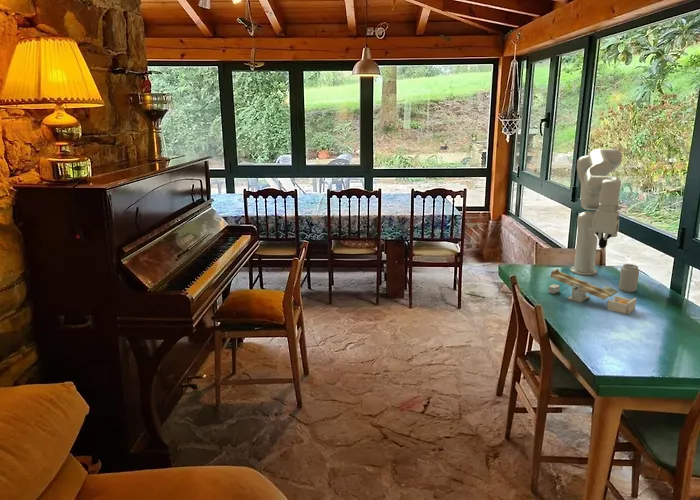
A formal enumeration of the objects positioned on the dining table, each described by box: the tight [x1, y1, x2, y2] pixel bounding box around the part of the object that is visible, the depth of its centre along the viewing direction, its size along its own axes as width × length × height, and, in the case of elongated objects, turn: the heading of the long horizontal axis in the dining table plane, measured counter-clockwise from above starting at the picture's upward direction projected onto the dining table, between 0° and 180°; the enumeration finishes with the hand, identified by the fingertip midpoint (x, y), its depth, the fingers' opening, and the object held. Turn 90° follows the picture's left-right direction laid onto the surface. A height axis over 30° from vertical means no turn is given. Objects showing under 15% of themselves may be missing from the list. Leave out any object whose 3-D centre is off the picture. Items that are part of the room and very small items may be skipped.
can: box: [618, 263, 640, 293], centre depth 244 cm, size 8×8×12 cm
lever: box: [549, 268, 619, 300], centre depth 236 cm, size 25×14×3 cm, turn 44°
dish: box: [606, 295, 637, 316], centre depth 222 cm, size 8×8×5 cm
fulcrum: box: [547, 280, 590, 304], centre depth 237 cm, size 16×11×7 cm, turn 44°
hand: (602, 247), depth 236 cm, fingers closed
